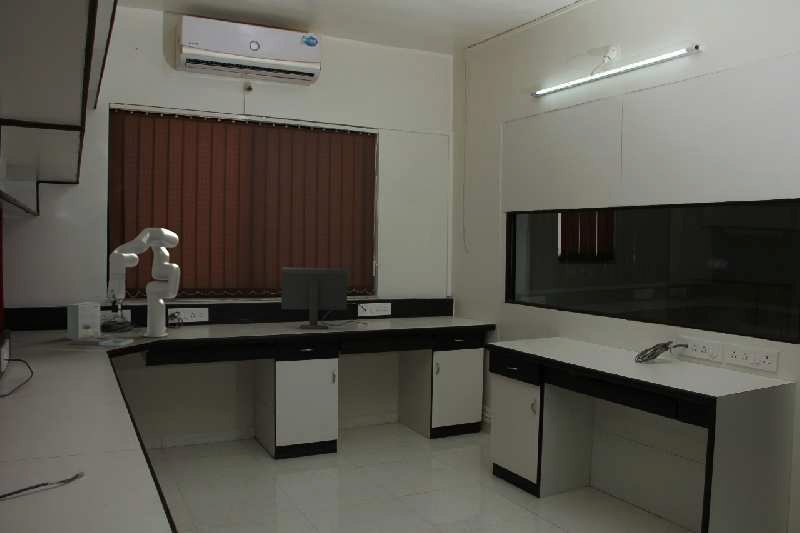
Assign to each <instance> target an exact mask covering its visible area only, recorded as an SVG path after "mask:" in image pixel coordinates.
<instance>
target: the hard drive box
mask: <svg viewBox="0 0 800 533" xmlns="http://www.w3.org/2000/svg"><path fill="white" fill-rule="evenodd" d="M83 325H91V330H90V335H97V336H101V302H94V301H86V302H78V303H68V304H67V340H74V339H78V338H82V337H83Z"/></svg>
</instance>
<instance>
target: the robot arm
mask: <svg viewBox="0 0 800 533" xmlns="http://www.w3.org/2000/svg"><path fill="white" fill-rule="evenodd" d="M178 244H179V237H178V235H177V233H174V232H172V231H170V230H168V229H165V228H161V227H147V228H144V229H143V230H142V231H141V232H140V233H139V234H138V235H137V236H136V237H135V238H134V239H133V240H130V241H128V242H126V243H124V244H121V245H119V246H117V247H116V248H115V250H113V251H112V253H110V255H109V281H108V288H107V298H108V299H109V301H110V303H111V313H112V314H113V313H118V305H117V304H118V300H121V312H120V313H122V312H123V304H124V299H125V298H126V281H125V280H126V271H127V270H126V268H133V267H136V266H137V265H138V263H139V262H140V260H139V257H138V255H139V254H143V253H145V252H146V251H147V250H148V249H149V248H151V250H152V252H153V262H152V268H151V277H152V278H153V279H155V280H158V281H155V280H154V281H149V283H147V285H146V287H145V293H146V298H147V321H146V323H147V325H146V326H147V330H146V333H144V334H143V335H144V337H146V338H160V337H162V338H163V337H167V336H169V335H168V334H169V333H167V332H166V331H167V327H166V303H165V301H164V300H163V299H174V298H175V297H176V296H177V295H178V291H179V284H180V278H181V269H180V267H179V265H178V264H176V263H170V253H169V251H168V250H167V248H169V249H170V248H175V247H177V245H178ZM160 280H161V281H160ZM162 280H163V281H162ZM115 300H116V301H115Z"/></svg>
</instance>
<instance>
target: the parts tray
mask: <svg viewBox="0 0 800 533" xmlns="http://www.w3.org/2000/svg"><path fill="white" fill-rule="evenodd" d="M132 343H134V339H133V338H115V339H110V340H107V341H103V342H99V345H98V346H103V347H105V346H106V347H122V346H125V345H129V344H132Z"/></svg>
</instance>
